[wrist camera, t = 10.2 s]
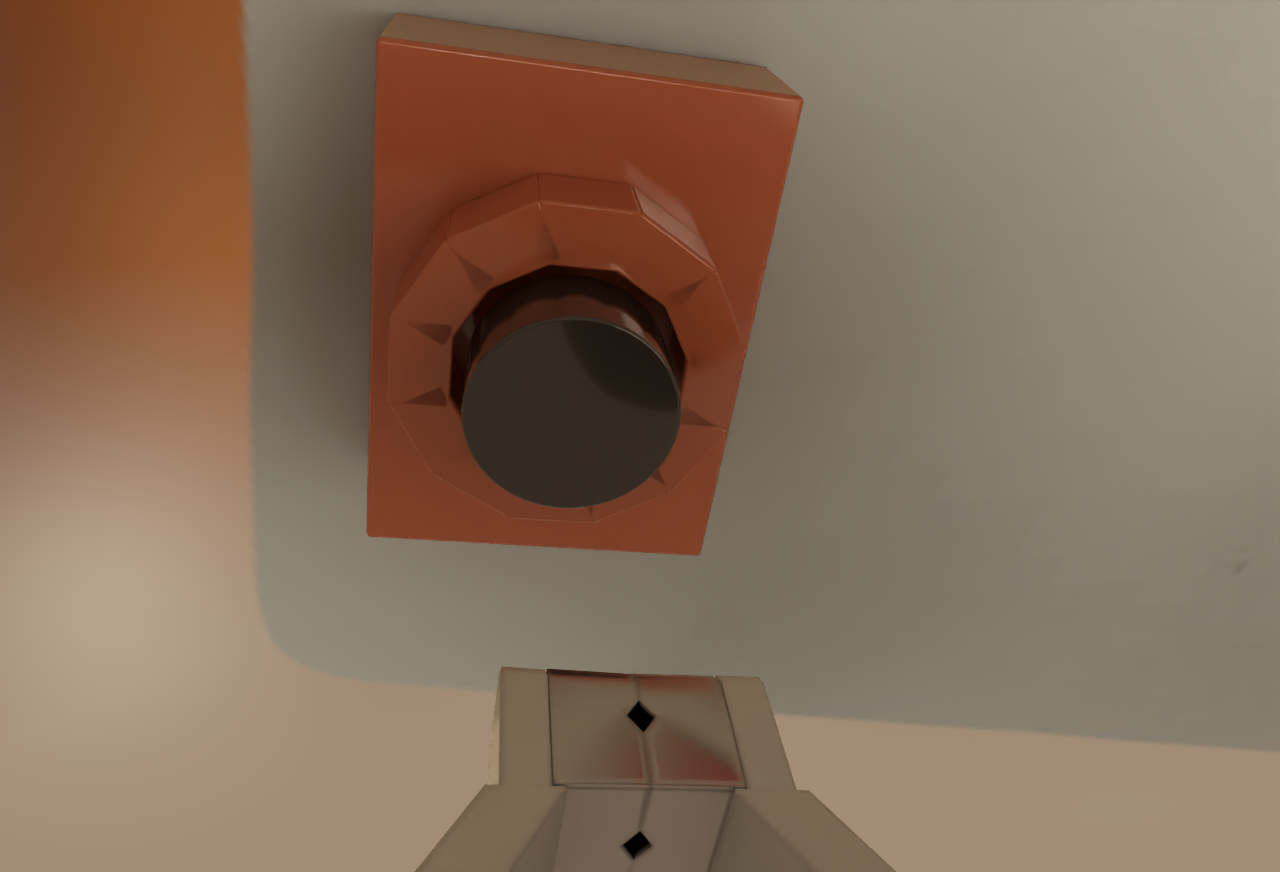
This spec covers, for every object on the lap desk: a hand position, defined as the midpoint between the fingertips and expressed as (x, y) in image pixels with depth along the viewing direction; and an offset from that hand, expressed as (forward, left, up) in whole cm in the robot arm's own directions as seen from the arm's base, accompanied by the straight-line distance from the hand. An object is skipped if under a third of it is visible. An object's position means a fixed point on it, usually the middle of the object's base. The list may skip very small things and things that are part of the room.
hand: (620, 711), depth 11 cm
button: (0, 0, -9) cm, 10 cm away
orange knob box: (0, 0, -14) cm, 14 cm away
